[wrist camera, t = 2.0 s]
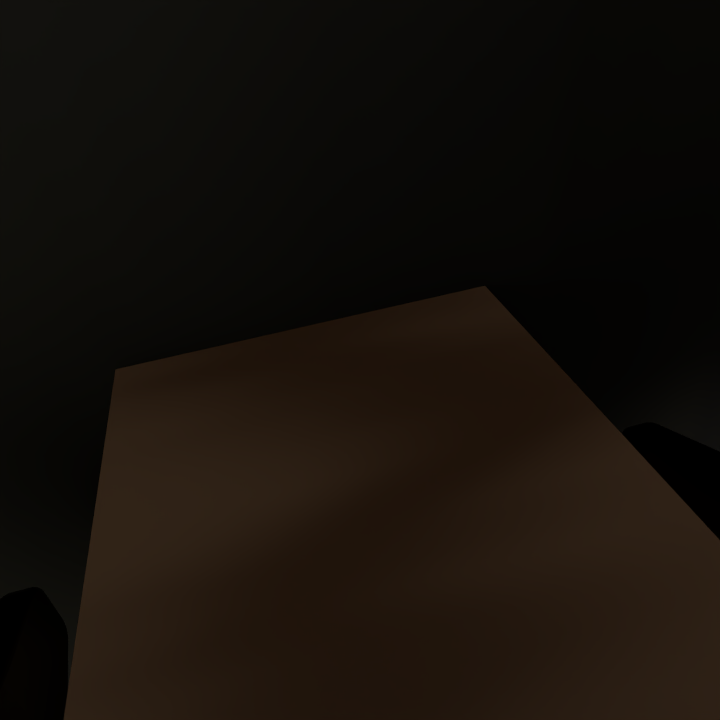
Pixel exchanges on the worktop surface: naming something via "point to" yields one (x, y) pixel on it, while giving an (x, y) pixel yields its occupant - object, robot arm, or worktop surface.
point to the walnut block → (387, 537)
